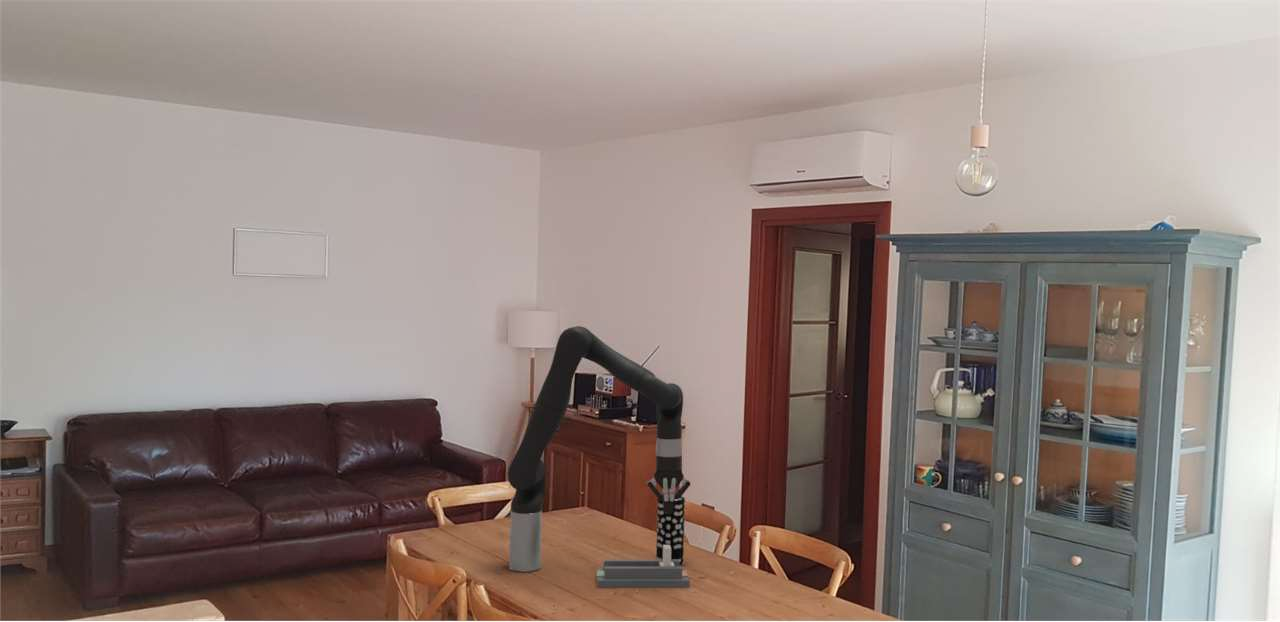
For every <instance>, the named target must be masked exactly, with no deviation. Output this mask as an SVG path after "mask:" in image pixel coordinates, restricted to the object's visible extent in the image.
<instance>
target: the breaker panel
mask: <svg viewBox="0 0 1280 622" xmlns="http://www.w3.org/2000/svg"><path fill="white" fill-rule="evenodd" d="M659 562H663V559H655V558H654V559H649V558H648V559H646V558H645V559H643V558H641V559H640V558H639V559H637V558H636V559H635V558H633V559H632V558H631V559H629V558H628V559H627V558H626V559H623V558H621V559H616V558H615V559H611V558H610V559H607V558H606V559H603V563H602V564H603V567H596V568H595V572H596V573H595V574H596V577H595V578H596V585H597V589H611V588H612V589H618V588H619V589H622V588H623V589H624V588H625V589H641V588H643V589H649V588H651V589H655V588H656V589H663V588H664V589H665V588H667V589H669V588H670V589H675V588H676V589H677V588H678V589H679V588H681V589H683V588H685V589H689V588H690V587H691V586H690V585H691V583H690V578H689V575H688V573H687V570H686V568H685V567H683V566H682V565H681V566H679V559H671V562H673V564H674V566H659Z"/></svg>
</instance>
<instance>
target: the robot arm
mask: <svg viewBox="0 0 1280 622" xmlns="http://www.w3.org/2000/svg"><path fill="white" fill-rule="evenodd" d="M556 343H557V344H556V346H555V351H554V354H553V358H552V361H551V362H552V363H551V365H550V369H549V371H548V373H547V375H546V377H545V380H544V382H543V385H542V386H541V389H540V391H539V394H538V395H537V398H536V402H535V403H534V407H533V409H532V413H531V415H530V418H529V420H528V423H527V426H526V428H525V432H524V435H523V438H522V440H521V442H520V445H519V446H518V449H517V450H516V453H515V455H514V457H513V458H512V460H511V463H510V465H509V467H508V468H507V469H508V470H507V478H508V479H507V480H508V483H509V485H510V486H511V487H512V488H513V489H515V493H514V496H513V498H512V499H511V502H510V529H509V531H510V535H509V551H508V552H509V559H508V570H509V571H515V572H520V573H521V572H523V573H525V572H527V573H528V572H534V571H538V570H539V569H541V567H542V566H541V565H542V564H541V563H542V524H543V523H542V522H543V521H542V519H543V517H542V515H543V504H544V501H545V493H546V467H545V464H544V462H543V460H542V456H543V453H544V451H545V449H546V448H547V446H548V444H549V443H550V441H551V440H552V439H553V438H554V436H555V435H556V433H557V432H558V431H559V428H560V426H561V424H562V422H563V420H564V418H565V415H566V412H567V409H568V406H569V404H570V399H571V392H572V385H573V384H572V383H573V379H574V376H575V373H576V371H577V370H578V369H577V368H578V367H579V364H580V362H581V361H582V359H585V360H588V361H590V362H592V363H595V364H597V365H599V367H602V368H603V369H604V370H606V371H607V372H609V374H611V375H612V376H613V377H614V378H615V379H616V380H617V381H619V382H621V383H622V384H624V385H626V386H627V387H629V388H630V389H632V390H634V391H635V392H636V393H639V394H641V395H643V396H644V397H645V398H646V399H647V400H649V401H650V402H651V403H652V404H654V405H655V406H657V407H659V417H658V420H657V423H656V441H655V442H656V443H655V472H654V475H653V477H652V478H651V479H650V480H649V479H648V480H647V481H646V483H647V486H648V487H649V489H650V490H651V491H652V492H653V493H654V495H655V496H656V498H657V500H658V499H661V500H663V510H664V512H666V514H671V512H673V511H674V500H676V499H680V497H683V495H684V494H685V492H686V491H687V490H688V488H689V487H690V486H691V482H690V480H688V479H686V478H685V476H684V474H683V442H682V416H683V415H682V414H683V407H684V394H683V393H684V392H683V390H682V388H681V387H680V386H679V385H678V384H675V383H672V382H670V383H666V381H664V380H661V379H660V378H658V377H656V375H655V373H653V372H652V371H650V370H649V369H647V368H645V367H644V366H642V365H641V364H639V363H637V362H635V361H633V360H632V359H629V357H627V356H625V355H622V354H621V353H620V352H618V351H616V350H615V349H613V348H612V347H611V346H609V345H608V344H606V343H605V342H603V341H602V340H601V339H600V338H599V337H598V336H596V335H595V334H594V333H593V332H591V331H590V330H589V329H588V328H587V327H584V326H582V325H581V326H572V327H567V329H564V330H563V331H562V332H561V333H560V335H559V338H558V339H557V342H556ZM656 482H657V483H656ZM657 484H658V486H659V487H660V488H661V489H662V493H661V492H660V491H659V490H658V489H657V487H656V486H657ZM680 484H681V486H680V487H679V489H678V491H677V492H676V489H677V488H678V486H679V485H680ZM668 489H669V490H668ZM668 495H669V500H668Z"/></svg>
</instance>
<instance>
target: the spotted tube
mask: <svg viewBox="0 0 1280 622" xmlns="http://www.w3.org/2000/svg"><path fill="white" fill-rule="evenodd" d="M685 499H686V498H685V497H684V496H681V497H680V499H676V500H674V511H673V512H671V514H666V512H664V510H663V500H661V499H658V498H657V517H656V519H657V520H656V556H655V557H656V559H663V545H670V546H671V559H679V566H681V567H682V566H683V564H684V552H685V551H684V550H685V549H684V546H685V545H684V542H685V510H686V508H685V506H686V505H685V501H686V500H685ZM668 500H669V494H668Z"/></svg>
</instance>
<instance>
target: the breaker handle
mask: <svg viewBox="0 0 1280 622" xmlns="http://www.w3.org/2000/svg"><path fill="white" fill-rule="evenodd" d="M659 566H674V564H673V562H671V546H670V545H663V562H659Z"/></svg>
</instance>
